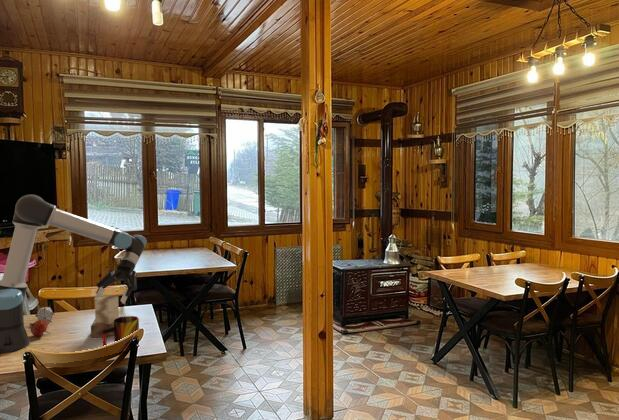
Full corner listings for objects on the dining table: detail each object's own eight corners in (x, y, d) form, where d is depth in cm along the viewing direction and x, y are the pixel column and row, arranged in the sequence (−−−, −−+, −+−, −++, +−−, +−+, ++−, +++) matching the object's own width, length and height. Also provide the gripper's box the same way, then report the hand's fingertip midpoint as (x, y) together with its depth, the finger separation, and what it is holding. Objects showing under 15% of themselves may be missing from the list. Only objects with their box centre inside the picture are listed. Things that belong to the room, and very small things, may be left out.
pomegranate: (45, 336, 214) (24, 327, 209) (55, 323, 215) (35, 313, 210) (45, 343, 207) (23, 333, 203) (56, 329, 209) (35, 319, 204)
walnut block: (91, 339, 204) (90, 326, 204) (95, 331, 216) (95, 318, 215) (120, 336, 208) (119, 323, 207) (123, 328, 219) (122, 316, 219)
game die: (47, 330, 227) (46, 317, 222) (31, 324, 227) (29, 311, 222) (59, 317, 235) (58, 304, 229) (43, 311, 235) (42, 298, 229)
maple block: (95, 323, 208) (94, 299, 208) (105, 318, 215) (104, 295, 215) (109, 323, 207) (108, 299, 206) (118, 319, 214) (118, 295, 213)
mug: (102, 354, 186) (101, 325, 185) (124, 342, 199) (123, 315, 198) (122, 356, 183) (122, 327, 182) (144, 344, 197) (143, 317, 196)
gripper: (154, 268, 225) (136, 307, 211) (109, 266, 231) (89, 304, 217) (147, 259, 220) (129, 298, 206) (101, 257, 225) (81, 295, 212)
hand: (109, 301), depth 212 cm, fingers open, 13 cm apart
